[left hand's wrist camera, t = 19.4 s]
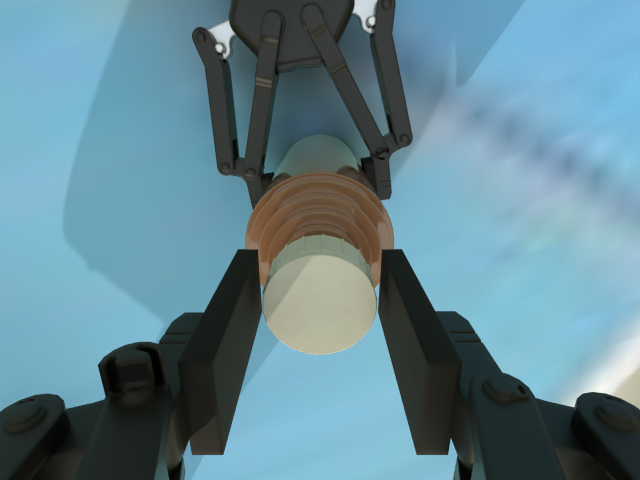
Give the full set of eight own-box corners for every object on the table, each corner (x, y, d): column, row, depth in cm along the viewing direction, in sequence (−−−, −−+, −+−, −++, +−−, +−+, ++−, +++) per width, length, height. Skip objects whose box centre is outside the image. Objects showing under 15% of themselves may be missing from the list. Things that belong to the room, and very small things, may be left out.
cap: (374, 320, 15) (382, 350, 14) (276, 330, 15) (271, 361, 14) (367, 227, 14) (374, 247, 12) (259, 239, 14) (251, 260, 12)
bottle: (299, 120, 34) (261, 165, 12) (370, 153, 35) (458, 251, 13) (270, 191, 36) (193, 340, 14) (338, 220, 37) (364, 401, 15)
